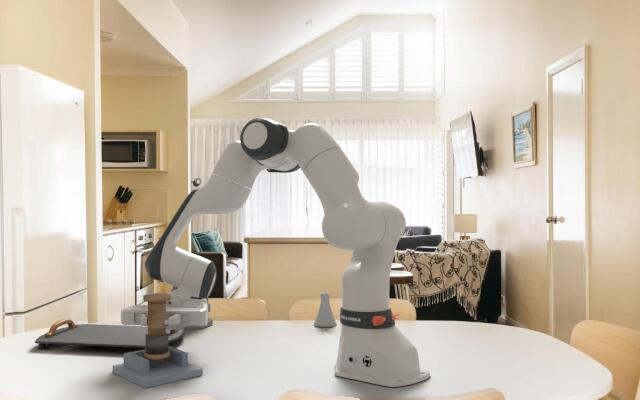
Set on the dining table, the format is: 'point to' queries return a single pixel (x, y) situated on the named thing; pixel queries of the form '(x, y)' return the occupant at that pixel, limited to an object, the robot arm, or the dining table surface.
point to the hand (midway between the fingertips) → (155, 322)
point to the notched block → (156, 368)
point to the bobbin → (156, 327)
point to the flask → (325, 313)
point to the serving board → (100, 335)
